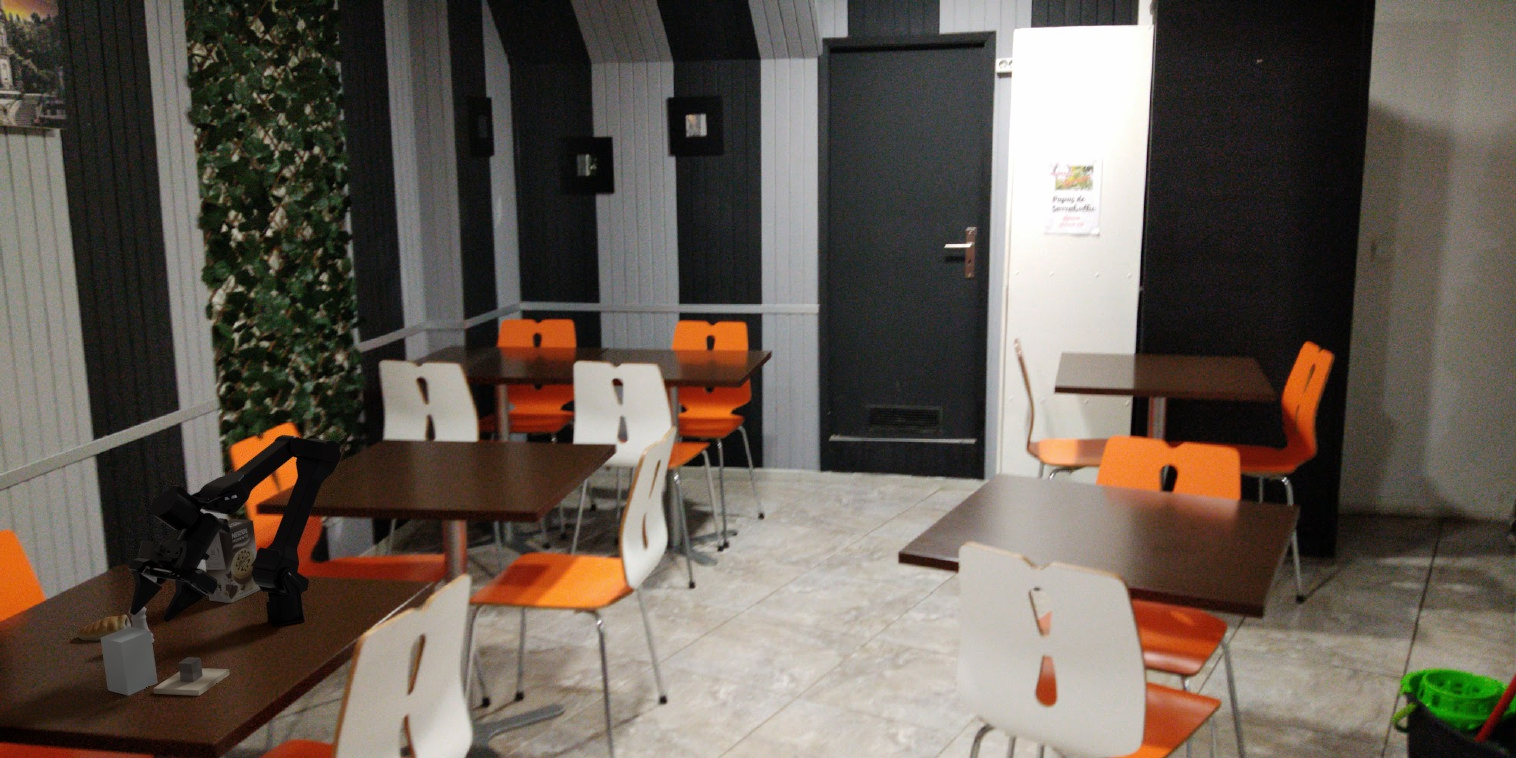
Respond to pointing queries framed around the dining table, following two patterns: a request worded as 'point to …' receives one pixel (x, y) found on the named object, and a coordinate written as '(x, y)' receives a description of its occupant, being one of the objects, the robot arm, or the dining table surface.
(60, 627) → the dining table surface
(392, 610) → the dining table surface
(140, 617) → the rook chess piece
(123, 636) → the grey tall rectangular block
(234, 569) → the coffee box
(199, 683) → the post board
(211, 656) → the dining table surface
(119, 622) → the pastry
